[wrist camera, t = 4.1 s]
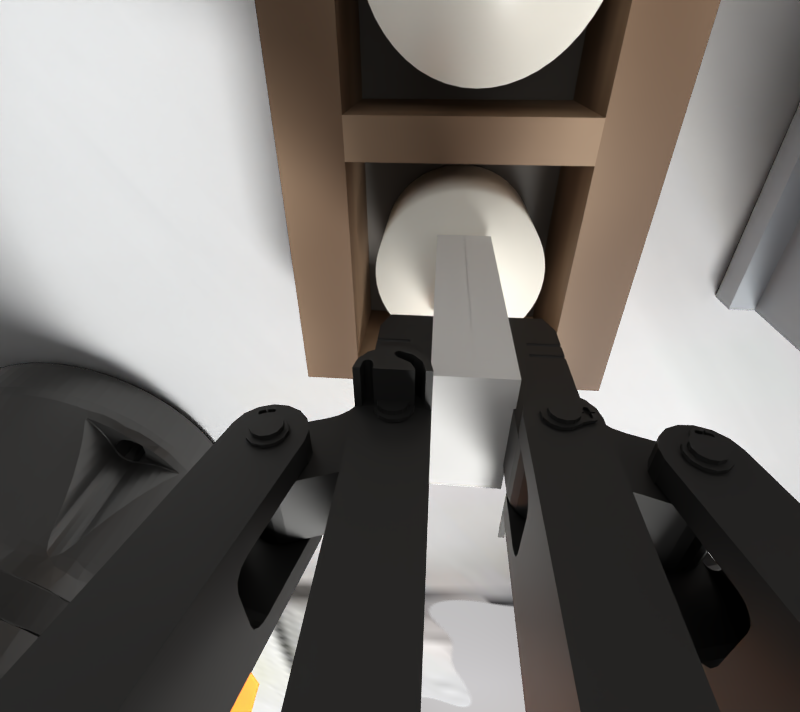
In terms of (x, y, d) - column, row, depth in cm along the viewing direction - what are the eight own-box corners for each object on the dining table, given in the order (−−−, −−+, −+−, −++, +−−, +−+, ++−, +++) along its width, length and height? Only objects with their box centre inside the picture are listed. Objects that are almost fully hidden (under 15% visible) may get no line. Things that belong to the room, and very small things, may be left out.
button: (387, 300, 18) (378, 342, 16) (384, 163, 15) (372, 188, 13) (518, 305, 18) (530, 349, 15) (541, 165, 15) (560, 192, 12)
